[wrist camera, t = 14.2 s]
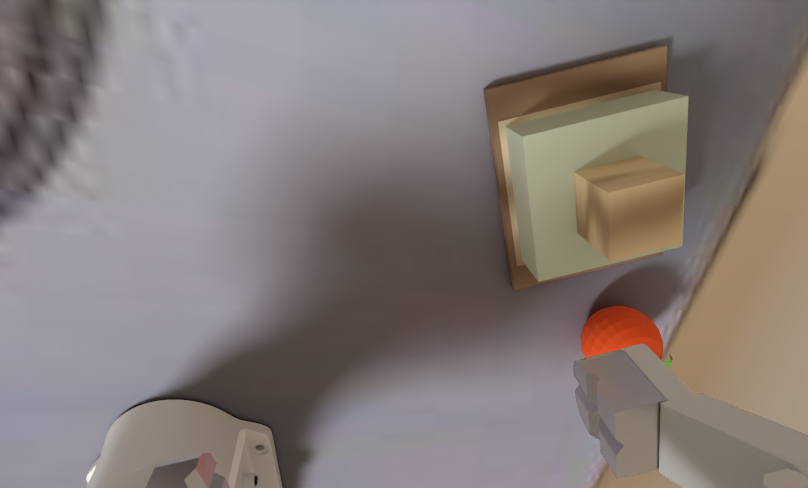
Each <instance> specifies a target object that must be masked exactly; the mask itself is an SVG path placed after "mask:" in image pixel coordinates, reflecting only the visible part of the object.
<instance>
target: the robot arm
mask: <svg viewBox="0 0 808 488" xmlns="http://www.w3.org/2000/svg"><path fill="white" fill-rule="evenodd" d="M573 369H574V376H575V378H576V379H577V381H578V382H579V386H578V387H577V389H576V390H575V393H576V402H577V406H578V409H579V412H580V416H581V418H582V420H583V422H584V424H585V426H586V428H587V430H588V431H589V433H590V435H592V436H594V437H596V438H598V439H599V440H600V451H601V453H602V455H603V457H604V458H605V460H606V462H607V463H608V465H609V467H610V468H611V470H612V471H613V473H614V475H615V476H616V478H617V479H619V478H624V477H628V476H633V475H638V474H642V473H647V472H652V471H656V470H659V473H661V474H662V475H664V476H666V477H667V478H668V479H670V480H672V481H673V482H674V483H676V484H677V485H679V486H681V487H682V488H808V435H806V434H804V433H801V432H798V431H796V430H794V429H791V428H789V427H786V426H784V425H781V424H779V423H776V422H773V421H771V420H768V419H766V418H763V417H761V416H758V415H756V414H753V413H751V412H748V411H746V410H743V409H741V408H738V407H736V406H733V405H731V404H728V403H726V402H723V401H721V400H718V399H716V398H713V397H711V396H708V395H706V394H703V393H699V394H695V395H694V394H693V393H692V391H691V390H689V388H688V387H687V386H686V385H685V384H684V383H683V382H682V381H681V380H680V379H679V378H678V377H677V376H676V375H675V374H674V373H673V372H672V371H671V370H670V369H669V368H668V367H667V366H666V365H665V364H664V363H663V362H662V360H661V359H660V358H659V357H658V356H657V355H656V354H655V353H654V352H653V351H652V350H651V349H650V348H649V347H648V346H647V345H645V344H642V343H641V344H638V345H634V346H630V347H626V348H622V349H619V350H615V351H612V352H608V353H604V354H600V355H596V356H592V357H588V358H584V359H580V360H576V361H574V365H573ZM86 480H87V482H88V485H87V487H86V488H282V482H281V477H280V472H279V467H278V461H277V456H276V451H275V446H274V441H273V435H272V432H271V430H270V429H269V428H268V427H267V426H264V425H262V424H258V423H253V422H248V421H242V420H239V419H237V418H235V417H233V416H231V415H229V414H227V413H225V412H224V411H222V410H220V409H217V408H215V407H213V406H210V405H207V404H203V403H199V402H195V401H189V400H160V401H154V402H149V403H146V404H143V405H140V406H137V407H135V408H133V409H131V410H129V411H127V412H126V413H124V414H123V415H121V416H120V417H119V418H118V419H117V420H116V421H115V422H114V423H113V424H112V426H111V427H110V429H109V431H108V433H107V435H106V439H105V442H104V446H103V449H102V452H101V455H100V457H99V458H98V459H97V460H96V461H95V462H94V463H93V465H92V466H91V468H90V470H89V472H88V474H87V477H86Z"/></svg>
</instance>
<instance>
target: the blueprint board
mask: <svg viewBox="0 0 808 488" xmlns="http://www.w3.org/2000/svg"><path fill="white" fill-rule="evenodd" d="M666 87H667V46H656V47H652V48H648V49H644V50H640V51H636V52H632V53H627V54H623V55H619V56H615V57H611V58H607V59H603V60H599V61H595V62H591V63H587V64H583V65H579V66H574V67H570V68H566V69H562V70H558V71H554V72H550V73H546V74H542V75H538V76H534V77H530V78H526V79H522V80H517V81H513V82H509V83H505V84H501V85H497V86H493V87H489V88H485V89H484V95H485V103H486V110H487V117H488V124H489V131H490V138H491V145H492V152H493V159H494V166H495V174H496V181H497V188H498V195H499V202H500V209H501V216H502V223H503V230H504V237H505V244H506V252H507V259H508V266H509V273H510V280H511V286H512V287H513V289H514V291H516V290H520V289H524V288H528V287H532V286H536V285H540V284H544V283H548V282H552V281H556V280H561V279H565V278H569V277H573V276H577V275H581V274H585V273H589V272H593V271H597V270H601V269H605V268H609V267H613V266H617V265H621V264H626V263H630V262H634V261H638V260H642V259H646V258H650V257H654V256H658V255H662V254H663V251H662V252H658V253H654V254H650V255H646V256H642V257H638V258H634V259H630V260H626V261H622V262H618V263H614V264H610V265H606V266H601V267H597V268H593V269H589V270H585V271H581V272H577V273H573V274H569V275H565V276H561V277H557V278H553V279H549V280H545V281H540V282H538V281H537V279H536V278H535V277H534V275H533V274H532V273H531V271H530V270H529V269H528V267H527V266H526V265H525V263H524V262H523V261H522V256H521V248H520V240H519V232H518V224H517V216H516V208H515V200H514V192H513V184H512V176H511V169H510V161H509V153H508V145H507V137H506V129H505V127H506V126H510V125H514V124H518V123H522V122H526V121H530V120H534V119H538V118H542V117H546V116H550V115H555V114H559V113H563V112H567V111H571V110H575V109H579V108H583V107H587V106H591V105H595V104H599V103H603V102H607V101H612V100H616V99H620V98H624V97H628V96H632V95H636V94H640V93H644V92H648V91H652V90H658V91H664V92H666Z"/></svg>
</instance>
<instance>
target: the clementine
mask: <svg viewBox="0 0 808 488" xmlns="http://www.w3.org/2000/svg"><path fill="white" fill-rule="evenodd" d="M641 343H642V344H645V345H647V346H648V347H649V348H650V349H651V350H652V351H653V352H654V353H655V354H656V355H657V356H658V357H659V358H660V359H661V357H662V352H663V342H662V338H661V335H660V332H659V329H658V328H657V327H656V325H655V324H654V323H653V321H652V320H651V319H650V318H649V317H648V316H646V315H645V314H643V313H642V312H640V311H638V310H637V309H633V308H629V307H625V306H611V307H607V308H603V309H601V310H599V311H597V312H595V313H594V314H593V315H591V317H590V318H589V319H588V320H587V322H586V324H585V325H584V327H583V329H582V333H581V347H582V351H583V354H584V356H585V358H588V357H592V356H596V355H600V354H604V353H608V352H612V351H615V350H619V349H622V348H626V347H630V346H634V345H638V344H641ZM670 360H671V361H669V362H663V363H664V364H665V365H666V366H667V367H669V366H670V364H671V362H672V357H671V355H670Z"/></svg>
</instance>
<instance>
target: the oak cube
mask: <svg viewBox="0 0 808 488" xmlns="http://www.w3.org/2000/svg"><path fill="white" fill-rule="evenodd" d="M574 187H575V203H576V219H577V233H578V234H579V235H580V236H581V237H583V238H584V239H585V240H586V241H587V242H588V243H589V244H591V245H592V246H593V247H594V248H595V249H596V250H597V251H599V252H600V253H601V254H602V255H603V256H604V257H605V258H607V259H608V260H609V261H613V260H617V259H622V258H626V257H630V256H634V255H638V254H642V253H646V252H650V251H654V250H659V249H663V248H667V247H671V246H675V245H679V244H681V240H682V217H683V194H684V174H682V173H680V172H677V171H675V170H673V169H670V168H668V167H665V166H663V165H661V164H658V163H656V162H653V161H651V160H649V159H646V158H644V157H641V156H637V157H633V158H629V159H625V160H621V161H617V162H613V163H608V164H604V165H600V166H596V167H592V168H588V169H584V170H580V171H575V172H574Z"/></svg>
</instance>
